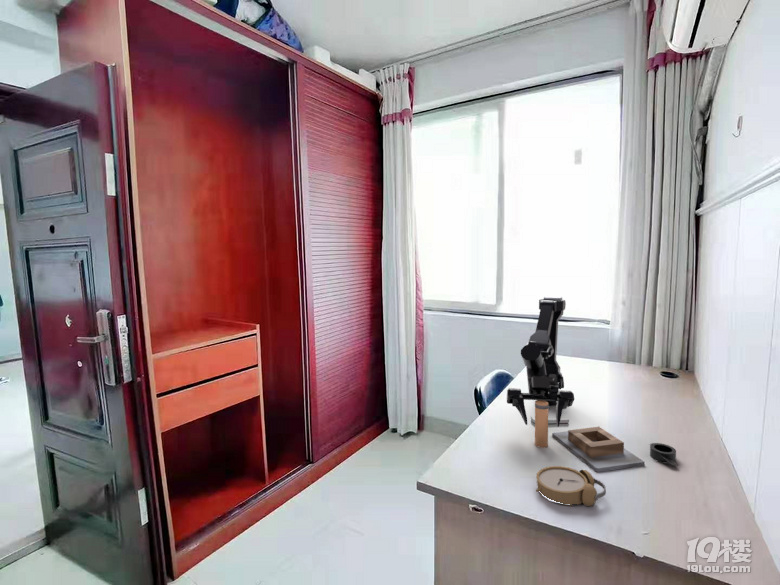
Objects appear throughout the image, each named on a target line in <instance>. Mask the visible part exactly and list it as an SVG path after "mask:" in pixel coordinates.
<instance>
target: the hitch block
mask: <svg viewBox="0 0 780 585" xmlns="http://www.w3.org/2000/svg"><path fill="white" fill-rule="evenodd" d="M551 436H552V437H553V438H554V439H555V440H557V442H559V443H560V444H561V445H563V446H564V447H565V448H566V449H568V450H569V451H570V452H571V453H573V454H574V455H575V456H576V457H578V459H580V460H581V461H583V462H584V463H585V464H586V465H587V466H589V467H590V468H591V469H592V470H593V471H595V472H596V473H600V472H606V471H608V472H609V471H615V470H621V469H627V468H628V469H629V468H634V467H635V468H636V467H643V466H645V463H646V462H645V461H644V460H643V459H641V458H639V457H638V456H637V455H635V454H633V453H632V452H631V451H629V450H627V449H626V448H625V442H623V441H622V440H621V439H619V438H618V437H616V436H614V435H612V434H611V433H610V432H608V431H607V430H605V429H603V428H602V427H600V426H593V427H585V428H576V429H569V430H565V431H556V432H552V433H551Z"/></svg>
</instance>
